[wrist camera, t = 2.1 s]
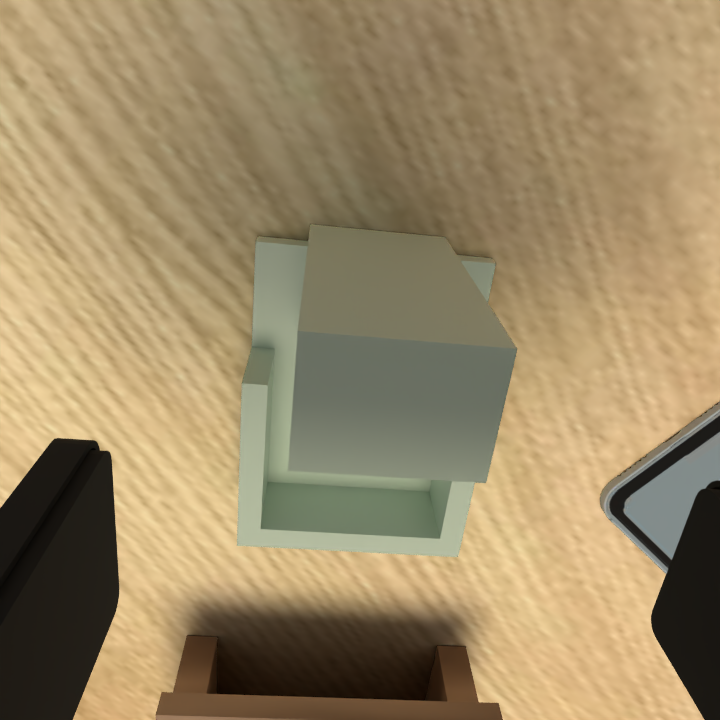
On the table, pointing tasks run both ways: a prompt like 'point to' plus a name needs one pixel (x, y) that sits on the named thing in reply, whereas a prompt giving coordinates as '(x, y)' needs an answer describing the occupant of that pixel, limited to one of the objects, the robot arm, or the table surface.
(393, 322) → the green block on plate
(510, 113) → the table surface
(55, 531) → the robot arm
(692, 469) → the smartphone
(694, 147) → the table surface
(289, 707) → the shelf
